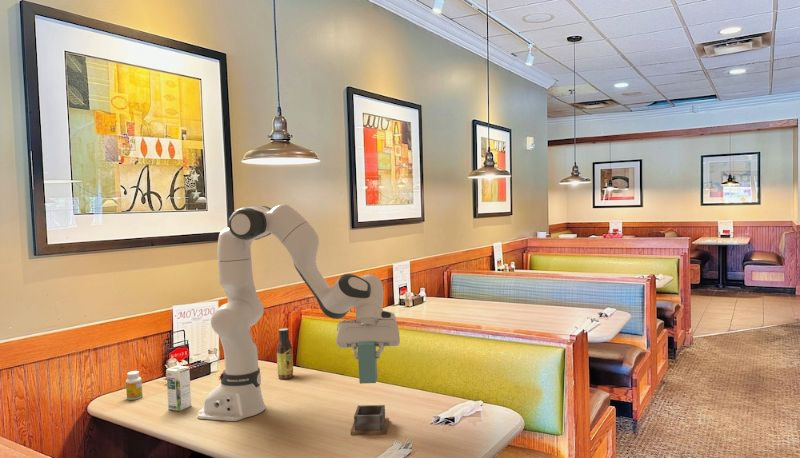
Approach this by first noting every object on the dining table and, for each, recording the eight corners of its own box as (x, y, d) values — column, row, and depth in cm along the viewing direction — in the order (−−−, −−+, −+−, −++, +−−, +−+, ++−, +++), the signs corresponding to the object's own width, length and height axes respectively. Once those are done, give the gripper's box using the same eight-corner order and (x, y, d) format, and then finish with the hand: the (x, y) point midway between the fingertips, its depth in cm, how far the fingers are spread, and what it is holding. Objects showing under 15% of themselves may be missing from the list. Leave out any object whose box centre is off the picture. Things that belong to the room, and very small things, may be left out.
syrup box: (167, 409, 195) (164, 369, 194) (180, 403, 200) (178, 364, 199) (179, 411, 192) (176, 371, 191) (192, 405, 197) (189, 366, 197)
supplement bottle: (123, 399, 207) (121, 374, 206) (135, 394, 212) (133, 369, 211) (134, 400, 205) (132, 375, 204) (145, 395, 210) (144, 370, 209)
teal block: (359, 383, 168) (357, 345, 168) (361, 378, 173) (359, 340, 173) (375, 383, 168) (373, 344, 167) (377, 377, 173) (375, 340, 172)
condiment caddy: (350, 434, 167) (349, 417, 166) (355, 421, 177) (354, 404, 176) (386, 434, 166) (385, 416, 166) (389, 420, 176) (388, 404, 176)
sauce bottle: (289, 380, 221) (287, 331, 220) (275, 379, 222) (272, 331, 221) (296, 374, 227) (293, 327, 226) (282, 374, 229) (279, 327, 228)
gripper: (336, 315, 177) (332, 353, 168) (399, 313, 176) (398, 351, 167) (339, 325, 182) (335, 363, 173) (400, 323, 180) (400, 361, 171)
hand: (367, 357), depth 170 cm, fingers closed on teal block, 5 cm apart
